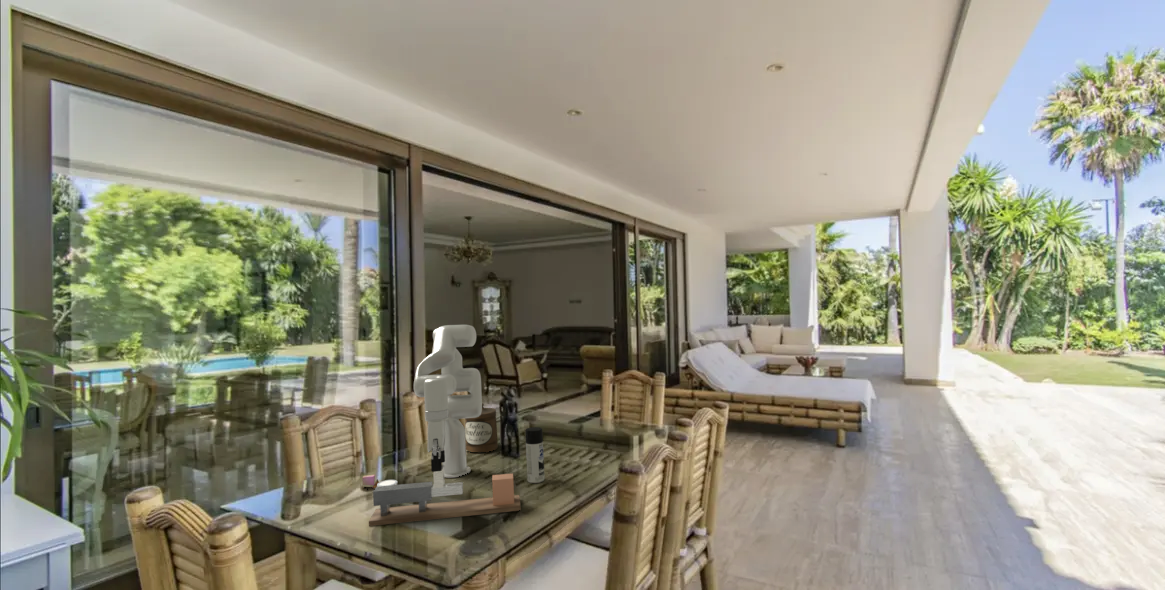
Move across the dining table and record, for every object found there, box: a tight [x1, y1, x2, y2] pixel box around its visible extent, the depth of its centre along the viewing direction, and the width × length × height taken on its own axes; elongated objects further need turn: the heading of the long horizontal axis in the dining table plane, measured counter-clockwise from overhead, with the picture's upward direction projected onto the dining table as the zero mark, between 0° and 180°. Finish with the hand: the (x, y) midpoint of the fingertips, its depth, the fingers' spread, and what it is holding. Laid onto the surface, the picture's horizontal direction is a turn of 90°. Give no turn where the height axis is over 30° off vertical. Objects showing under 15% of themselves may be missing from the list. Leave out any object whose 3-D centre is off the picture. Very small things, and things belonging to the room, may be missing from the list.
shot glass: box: [377, 479, 398, 506], centre depth 183 cm, size 7×7×7 cm
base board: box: [368, 494, 522, 527], centre depth 173 cm, size 10×48×2 cm, turn 99°
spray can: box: [524, 426, 546, 484], centre depth 200 cm, size 7×7×20 cm
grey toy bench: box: [372, 481, 433, 516], centre depth 171 cm, size 5×18×8 cm, turn 99°
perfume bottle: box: [361, 474, 379, 489], centre depth 200 cm, size 12×12×4 cm
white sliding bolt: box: [431, 464, 464, 498], centre depth 171 cm, size 4×27×9 cm, turn 99°
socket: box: [491, 472, 515, 506], centre depth 176 cm, size 5×7×8 cm
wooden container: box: [464, 402, 499, 453], centre depth 245 cm, size 15×15×22 cm
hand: (438, 466), depth 172 cm, fingers open, 9 cm apart
